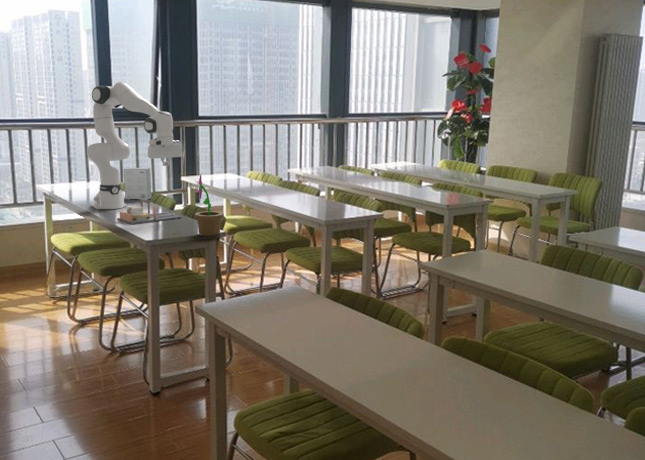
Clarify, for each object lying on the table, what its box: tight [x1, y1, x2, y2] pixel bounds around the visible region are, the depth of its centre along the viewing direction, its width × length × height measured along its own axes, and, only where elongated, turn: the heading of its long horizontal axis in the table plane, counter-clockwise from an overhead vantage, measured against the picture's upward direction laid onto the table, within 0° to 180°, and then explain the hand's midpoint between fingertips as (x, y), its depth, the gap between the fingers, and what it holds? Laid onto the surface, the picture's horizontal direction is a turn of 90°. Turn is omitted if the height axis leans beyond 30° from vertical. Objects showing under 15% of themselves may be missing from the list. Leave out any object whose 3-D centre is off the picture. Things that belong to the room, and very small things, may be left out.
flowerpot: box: [194, 173, 224, 237], centre depth 353 cm, size 14×14×30 cm
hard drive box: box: [123, 167, 152, 200], centre depth 457 cm, size 16×8×20 cm, turn 84°
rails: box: [133, 211, 176, 221], centre depth 392 cm, size 8×28×1 cm, turn 132°
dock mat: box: [116, 212, 182, 226], centre depth 392 cm, size 17×30×1 cm, turn 132°
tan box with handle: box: [126, 199, 152, 220], centre depth 386 cm, size 10×11×10 cm
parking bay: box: [119, 206, 157, 222], centre depth 386 cm, size 16×15×7 cm
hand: (165, 165), depth 399 cm, fingers closed
